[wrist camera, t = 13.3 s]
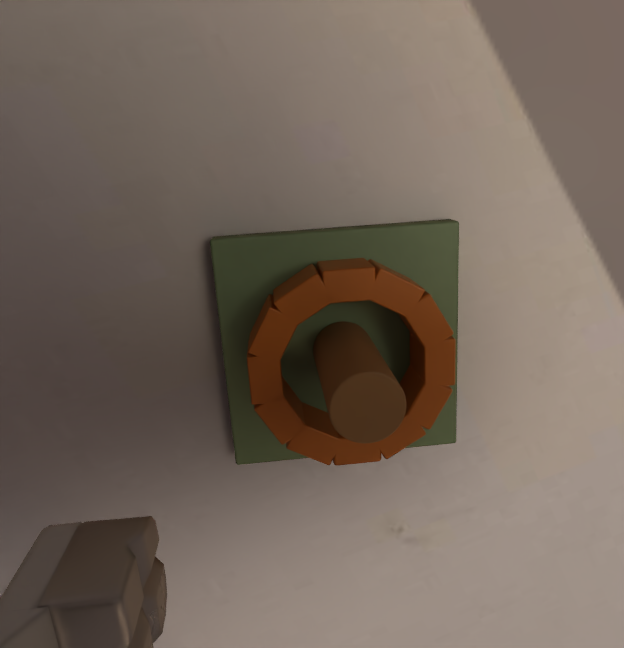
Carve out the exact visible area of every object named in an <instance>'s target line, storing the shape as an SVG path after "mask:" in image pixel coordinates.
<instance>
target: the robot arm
mask: <svg viewBox="0 0 624 648" xmlns="http://www.w3.org/2000/svg"><path fill="white" fill-rule="evenodd" d="M158 543H159V535H158V531H157V526H156V521H155V520H154V519H153V517H152V516H145V517H133V518H122V519H110V520H98V521H86V522H83V523H82V522H76V523H66V524H57V525H49V526H48V527H46V528H44V529H43V530H42V531H41V532H40V534H39V535H38V537H37V539H36V540H35V542H34V544H33V545H32V547H31V549H30V550H29V552H28V553H27V555H26V557H25V558H24V560H23V562H22V563H21V565H20V567H19V568H18V570H17V572H16V573H15V575H14V577H13V578H12V580H11V582H10V583H9V585H8V587H7V588H6V590H5V592H4V593H3V595H2V597H1V598H0V648H154V647H153V643H154V642H155V641H156V639H157V638H158V637H159V636H160V635H161V634H162V632H163V627H164V621H165V616H166V602H167V586H166V575H165V569H164V564H163V563H162V562H161V561H160V560H159V559H157V558H156V557H155V554H156V550H157V546H158Z"/></svg>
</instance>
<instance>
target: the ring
mask: <svg viewBox="0 0 624 648" xmlns="http://www.w3.org/2000/svg"><path fill="white" fill-rule="evenodd" d="M366 300H371V301H373V302H375V303H377V304H379V305H381V306H383V307H385V308H388V309H390V310H392V311H394V312H396V313H398V314H399V316H400V317H401V319H402V320H403V322H404V323H405V325H406V326H407V328H408V330H409V331H410V366H409V367H408V369H407V371H406V373H405V374H404V376H403V378H402V380H401V382H400V383H399V384H400V386H401V387H402V389H403V391H404V394H405V397H406V412H405V416H404V419H403V421H402V423H401V424H400V426H399V427H398V428H397V430H396V431H395V432H394V433H392V434H391V435H390V436H388V437H387V438H385V439H383V440H381V441H378V442H374V443H357V442H353V441H350V440H348V439H346V438H344V437H343V436H341V435H340V434H339V433H338V432H337V431H336V430H335V428H334V427H333V425H332V423H331V421H330V417H329V414H328V413H327V412H325V411H322V410H320V409H318V408H315V407H313V406H310V405H308V404H306V403H303V402H301V401H300V399H299V398H298V397H297V395H296V394H295V393H294V391H293V390H292V389H291V387H290V386H289V385H288V383H287V382H286V381H285V379H284V378H283V377H282V370H281V358H282V356H283V354H284V352H285V350H286V348H287V346H288V344H289V342H290V340H291V338H292V336H293V334H294V332H295V330H296V328H297V326H298V325H299V324H300V323H302V322H303V321H305V320H306V319H308V318H309V317H311V316H312V315H314V314H315V313H317V312H318V311H320V310H321V309H323V308H324V307H326V306H327V305H329V304H330V303H342V302H354V301H366ZM453 334H454V333H453V330H452V329H451V327H450V326H449V324H448V322H447V321H446V319H445V317H444V316H443V314H442V313H441V311H440V309H439V308H438V306H437V304H436V303H435V301H434V300H433V298H432V296H431V295H430V294H429V293H428V292H426V291H425V289H424V288H422V287H421V286H420V285H418V284H417V283H416V282H414V281H413V280H411V279H410V278H409V277H406V276H404V275H402V274H400V273H398V272H396V271H394V270H392V269H390V268H388V267H386V266H384V265H382V264H380V263H378V262H376V261H374V260H372V259H369V260H368V261H367V260H366V259H365V258H352V259H340V260H327V261H318V262H317V269H316V268H315V266H314V265H313V264H310V265H308V266H307V267H306V268H304V269H303V270H301V271H300V272H298V273H297V274H295V275H294V276H292V277H291V278H289V279H288V280H286V281H285V282H284V283H282V284H281V285H279V286H278V287H276V288H275V289H274V290H273V295H271V294H269V295H268V297H267V299H266V301H265V303H264V305H263V307H262V310H261V312H260V314H259V316H258V318H257V320H256V322H255V324H254V326H253V328H252V330H251V333H250V337H249V341H248V351H247V367H248V376H249V385H250V395H251V403H252V405H254V410H255V411H256V413H257V414H258V415H259V416H260V418H261V419H262V420H263V422H264V423H265V424H266V425H267V427H268V428H269V429H270V430H271V432H272V433H273V434H274V436H275V437H276V438H277V439H278V441H279V442H280V443H281V444H282V445H283V444H285V443H286V448H287V449H289V450H291V451H294V452H296V453H299V454H301V455H304V456H307V457H309V458H312V459H314V460H317V461H319V462H322V463H324V464H327V465H330V464H331V462H332V460H333V462H334V464H335V465H347V464H356V463H366V462H376V461H380V460H381V453H382V455H383V456H384V457H385V458H386V459H388V458H390V457H391V456H393V455H394V454H396V453H398V452H399V451H401V450H402V449H404V448H406V447H407V446H409V445H410V444H412V443H413V442H415V441H417V440H418V439H420V438H421V437H423V436H424V435H426V432H425V430H424V429H423V427H424V428H426V429H431V427H432V426H433V424H434V422H435V420H436V419H437V417H438V415H439V414H440V412H441V410H442V409H443V407H444V405H445V403H446V402H447V400H448V398H449V397H450V395H451V393H452V391H453V390H452V388H451V387H450V386H451V385H455V349H456V340H455V338H454V337H453V336H452V335H453Z"/></svg>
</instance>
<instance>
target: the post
mask: <svg viewBox="0 0 624 648" xmlns="http://www.w3.org/2000/svg"><path fill="white" fill-rule="evenodd" d="M210 248H211V256H212V265H213V273H214V282H215V290H216V299H217V307H218V316H219V324H220V332H221V341H222V349H223V358H224V366H225V375H226V383H227V392H228V400H229V409H230V417H231V426H232V434H233V443H234V451H235V460H236V464H238V465H240V464H250V463H260V462H270V461H280V460H290V459H300V458H309V457H307V456H304V455H301V454H299V453H296V452H294V451H291V450H289V449H287V448H286V443H285V444H283V445H282V444H281V443H280V442H279V441H278V439H277V438H276V437H275V436H274V434H273V433H272V432H271V430H270V429H269V428H268V427H267V425H266V424H265V423H264V422H263V420H262V419H261V418H260V416H259V415H258V414H257V413H256V411H255V410H254V405H252V403H251V395H250V385H249V376H248V367H247V351H248V341H249V337H250V333H251V330H252V328H253V326H254V324H255V322H256V320H257V318H258V316H259V314H260V312H261V310H262V307H263V305H264V303H265V301H266V299H267V297H268V295H269V294H271V295H273V290H274V289H275V288H276V287H278V286H279V285H281V284H282V283H284V282H285V281H286V280H288V279H289V278H291V277H292V276H294V275H295V274H297V273H298V272H300V271H301V270H303V269H304V268H306V267H307V266H308V265H310V264H313V265H314V266H315V268H316V269H317V262H318V261H327V260H340V259H352V258H365V259H366V260H367V261H368V260H369V259H372V260H374V261H376V262H378V263H380V264H382V265H384V266H386V267H388V268H390V269H392V270H394V271H396V272H398V273H400V274H402V275H404V276H406V277H409V278H410V279H411V280H413V281H414V282H416V283H417V284H418V285H420V286H421V287H422V288H424V289H425V291H426V292H428V293H429V294H430V295H431V296H432V298H433V300H434V301H435V303H436V304H437V306H438V308H439V309H440V311H441V313H442V314H443V316H444V317H445V319H446V321H447V322H448V324H449V326H450V327H451V329H452V330H453V333H454V334H453V335H452V336H453V337H454V338H455V340H456V349H455V385H451V386H450V387H451V388H452V390H453V391H452V393H451V395H450V397H449V398H448V400H447V402H446V403H445V405H444V407H443V409H442V410H441V412H440V414H439V415H438V417H437V419H436V420H435V422H434V424H433V426H432V427H431V429H426V428H424V427H423V429H424V430H425V432H426V435H424V436H423V437H421V438H420V439H418V440H417V441H415V442H413V443H412V444H410V445H409V446H407V447H406V448H409V447H419V446H429V445H439V444H449V443H455V442H456V402H457V326H458V250H459V223H458V221H455V220H451V219H446V220H432V221H419V222H405V223H392V224H378V225H365V226H351V227H338V228H324V229H311V230H297V231H283V232H270V233H256V234H243V235H229V236H216V237H213V238H212V239H211V240H210ZM409 366H410V331H409V330H408V328H407V326H406V325H405V323H404V322H403V320H402V319H401V317H400V316H399V314H398V313H396V312H394V311H392V310H390V309H388V308H385V307H383V306H381V305H379V304H377V303H375V302H373V301H371V300H366V301H354V302H342V303H330V304H329V305H327V306H326V307H324V308H323V309H321V310H320V311H318V312H317V313H315V314H314V315H312V316H311V317H309V318H308V319H306V320H305V321H303V322H302V323H300V324H299V325H298V326H297V328H296V330H295V332H294V334H293V336H292V338H291V340H290V342H289V344H288V346H287V348H286V350H285V352H284V354H283V356H282V358H281V370H282V377H283V378H284V379H285V381H286V382H287V383H288V385H289V386H290V387H291V389H292V390H293V391H294V393H295V394H296V395H297V397H298V398H299V399H300V401H301V402H303V403H306V404H308V405H310V406H313V407H315V408H318V409H320V410H322V411H325V412H327V413H328V414H329V417H330V421H331V423H332V425H333V427H334V428H335V430H336V431H337V432H338V433H339V434H340V435H341V436H343V437H344V438H346V439H348V440H350V441H353V442H357V443H374V442H378V441H381V440H383V439H385V438H387V437H388V436H390V435H391V434H392V433H394V432H395V431H396V430H397V428H398V427H399V426H400V424H401V423H402V421H403V419H404V416H405V412H406V397H405V394H404V391H403V389H402V387H401V386H400V384H399V383H400V382H401V380H402V378H403V376H404V374H405V373H406V371H407V369H408V367H409Z"/></svg>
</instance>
